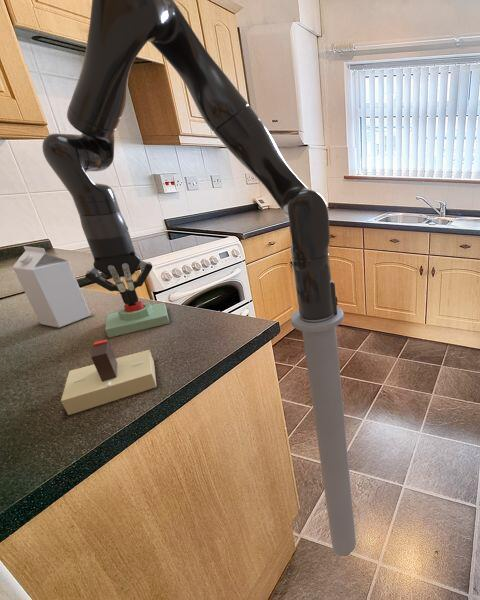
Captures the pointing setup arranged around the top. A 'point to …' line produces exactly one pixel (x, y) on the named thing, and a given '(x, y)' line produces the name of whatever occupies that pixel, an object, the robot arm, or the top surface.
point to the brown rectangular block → (104, 360)
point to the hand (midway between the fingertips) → (132, 304)
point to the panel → (108, 383)
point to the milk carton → (50, 287)
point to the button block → (136, 319)
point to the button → (134, 307)
